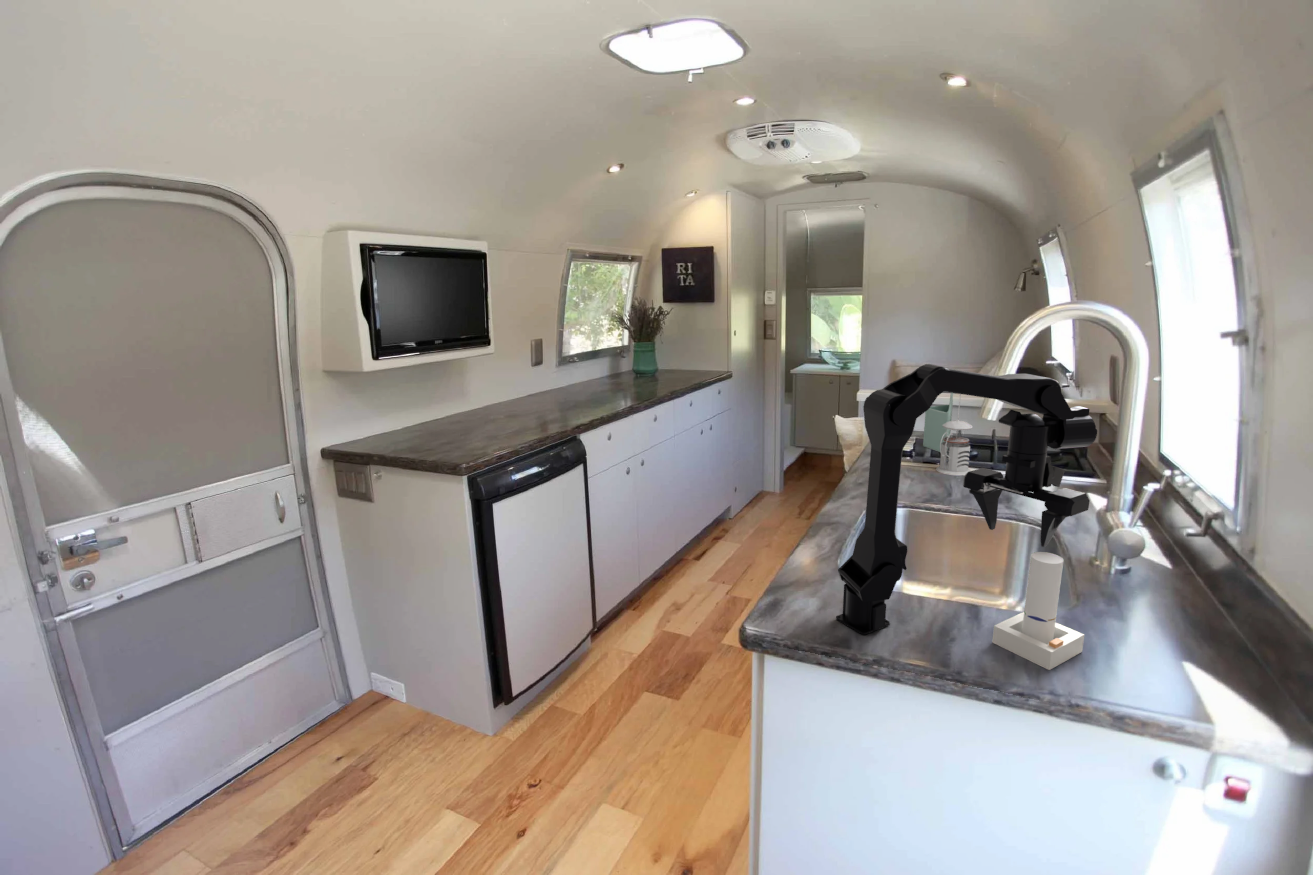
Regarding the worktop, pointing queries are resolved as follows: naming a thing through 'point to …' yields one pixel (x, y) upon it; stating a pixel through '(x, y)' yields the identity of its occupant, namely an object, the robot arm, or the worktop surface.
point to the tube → (1042, 596)
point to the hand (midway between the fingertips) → (1017, 537)
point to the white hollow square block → (1038, 643)
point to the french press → (955, 449)
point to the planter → (937, 425)
